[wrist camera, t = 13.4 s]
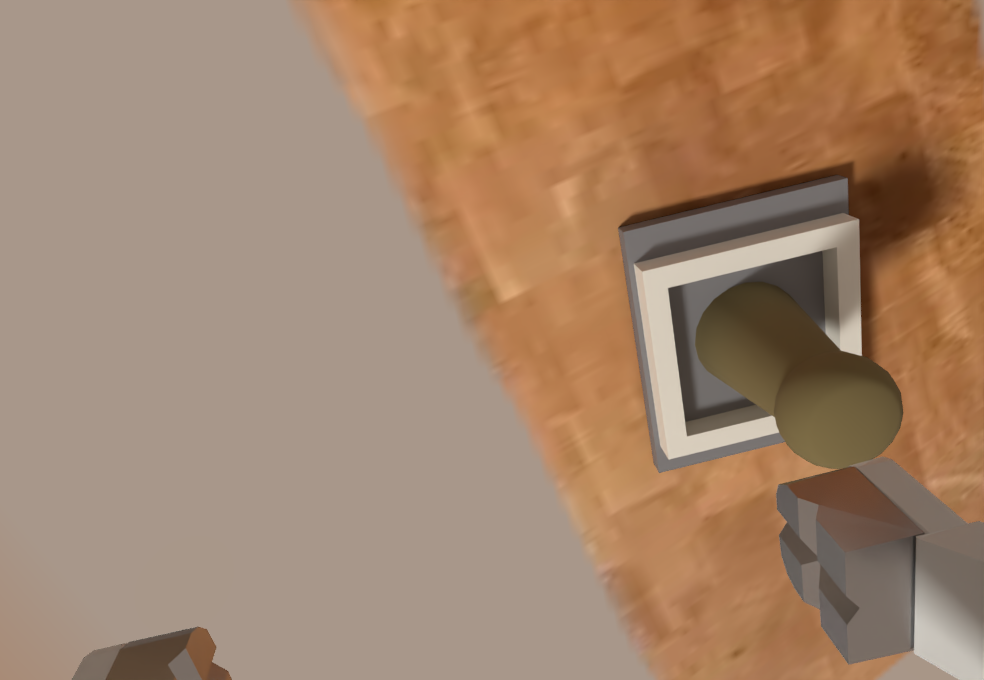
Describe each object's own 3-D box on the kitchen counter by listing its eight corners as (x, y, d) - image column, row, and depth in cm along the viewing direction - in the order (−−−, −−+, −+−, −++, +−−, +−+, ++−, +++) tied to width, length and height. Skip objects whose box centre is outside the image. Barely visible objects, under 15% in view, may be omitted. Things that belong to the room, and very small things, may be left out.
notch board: (618, 227, 39) (631, 239, 36) (837, 174, 39) (864, 183, 37) (654, 464, 45) (667, 487, 42) (844, 417, 45) (868, 437, 42)
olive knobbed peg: (799, 271, 40) (933, 349, 30) (801, 370, 42) (925, 475, 32) (690, 293, 40) (788, 380, 29) (698, 392, 42) (791, 504, 32)
